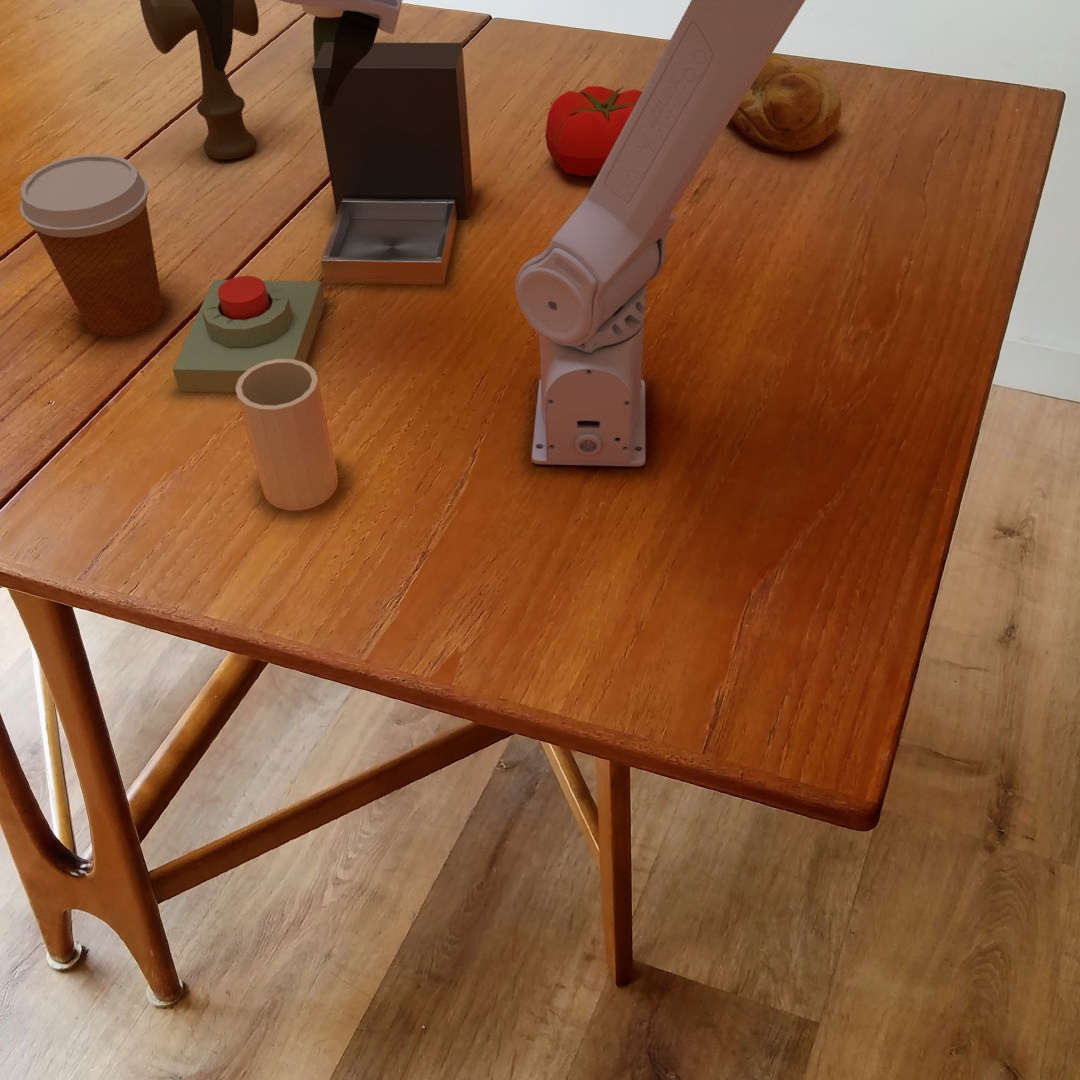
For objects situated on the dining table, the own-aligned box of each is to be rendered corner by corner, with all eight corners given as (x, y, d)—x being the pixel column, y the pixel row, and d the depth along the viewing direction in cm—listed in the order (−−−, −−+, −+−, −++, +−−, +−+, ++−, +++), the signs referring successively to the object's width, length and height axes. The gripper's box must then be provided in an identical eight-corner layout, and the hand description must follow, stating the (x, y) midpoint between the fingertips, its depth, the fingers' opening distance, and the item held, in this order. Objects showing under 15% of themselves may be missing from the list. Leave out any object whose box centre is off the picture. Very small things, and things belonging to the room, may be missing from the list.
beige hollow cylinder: (330, 512, 79) (308, 409, 72) (255, 510, 79) (226, 408, 72) (344, 461, 82) (324, 359, 76) (272, 459, 82) (246, 357, 76)
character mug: (390, 82, 125) (375, -46, 116) (326, 94, 123) (306, -34, 114) (361, 44, 132) (345, -79, 123) (300, 55, 130) (279, -68, 121)
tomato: (665, 186, 108) (669, 119, 103) (548, 192, 108) (547, 125, 103) (652, 137, 115) (656, 72, 110) (543, 142, 115) (541, 77, 110)
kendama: (287, 151, 115) (246, -65, 100) (194, 176, 111) (137, -43, 97) (266, 127, 118) (223, -84, 104) (175, 151, 115) (118, -63, 101)
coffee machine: (467, 220, 105) (455, 67, 95) (337, 219, 105) (311, 67, 95) (473, 192, 108) (462, 42, 98) (346, 191, 109) (323, 42, 99)
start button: (263, 321, 88) (259, 302, 87) (217, 321, 88) (212, 301, 87) (274, 294, 91) (269, 275, 89) (229, 294, 91) (224, 275, 90)
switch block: (295, 394, 88) (285, 351, 85) (179, 392, 88) (166, 349, 85) (325, 303, 96) (317, 261, 93) (219, 302, 96) (208, 260, 94)
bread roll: (695, 121, 117) (700, 42, 111) (765, 94, 121) (774, 16, 115) (784, 171, 109) (796, 88, 104) (856, 140, 113) (871, 59, 108)
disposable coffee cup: (64, 358, 92) (11, 223, 83) (65, 293, 98) (16, 161, 89) (186, 336, 93) (146, 202, 84) (179, 274, 100) (141, 143, 91)
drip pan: (443, 285, 97) (441, 261, 96) (324, 283, 98) (320, 260, 96) (457, 222, 104) (455, 199, 103) (346, 220, 105) (342, 197, 103)
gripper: (425, -95, 74) (385, 78, 85) (199, -178, 71) (188, 11, 82) (407, -33, 70) (368, 139, 82) (167, -118, 68) (160, 72, 79)
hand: (276, 79), depth 82 cm, fingers open, 7 cm apart
